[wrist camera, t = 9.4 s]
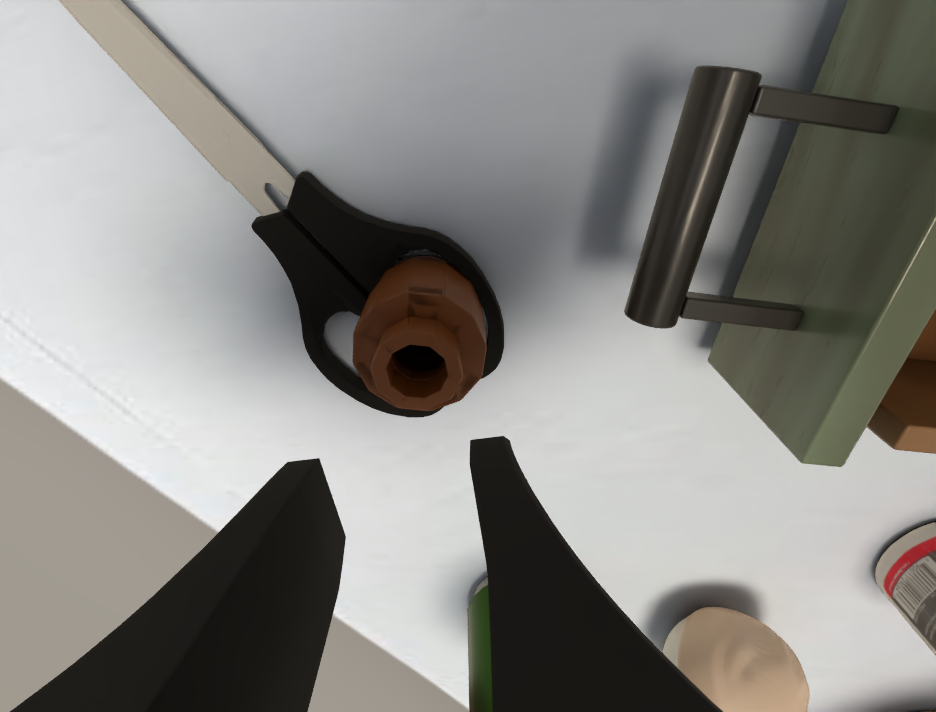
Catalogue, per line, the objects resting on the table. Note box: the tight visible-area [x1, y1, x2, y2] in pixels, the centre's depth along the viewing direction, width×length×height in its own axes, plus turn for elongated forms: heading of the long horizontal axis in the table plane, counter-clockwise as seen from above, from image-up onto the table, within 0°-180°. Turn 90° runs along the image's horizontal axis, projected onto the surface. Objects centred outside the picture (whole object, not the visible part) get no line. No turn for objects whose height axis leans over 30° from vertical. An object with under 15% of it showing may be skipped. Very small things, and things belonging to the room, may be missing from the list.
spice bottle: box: [353, 256, 487, 411], centre depth 16 cm, size 4×4×4 cm
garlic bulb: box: [663, 607, 809, 712], centre depth 23 cm, size 7×6×8 cm
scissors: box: [59, 0, 504, 417], centre depth 15 cm, size 7×1×20 cm
